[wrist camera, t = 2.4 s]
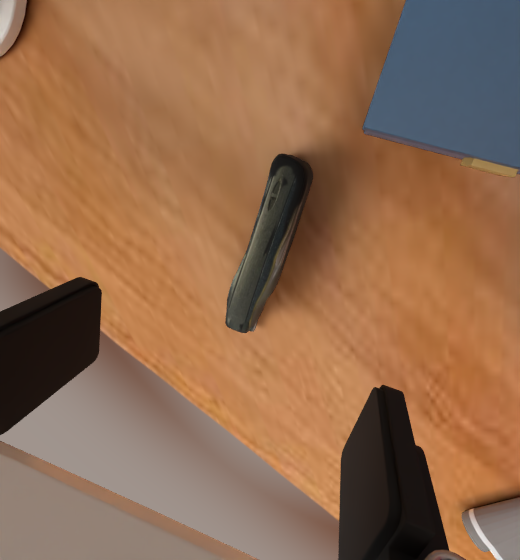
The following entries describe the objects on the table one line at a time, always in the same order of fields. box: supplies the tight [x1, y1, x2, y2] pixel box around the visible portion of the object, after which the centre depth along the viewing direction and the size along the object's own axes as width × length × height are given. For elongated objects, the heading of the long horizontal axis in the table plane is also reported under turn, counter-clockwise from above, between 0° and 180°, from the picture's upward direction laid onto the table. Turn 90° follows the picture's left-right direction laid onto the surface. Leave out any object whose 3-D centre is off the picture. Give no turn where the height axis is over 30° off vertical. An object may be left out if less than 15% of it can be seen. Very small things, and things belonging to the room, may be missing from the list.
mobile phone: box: [226, 154, 313, 333], centre depth 25 cm, size 5×3×15 cm
